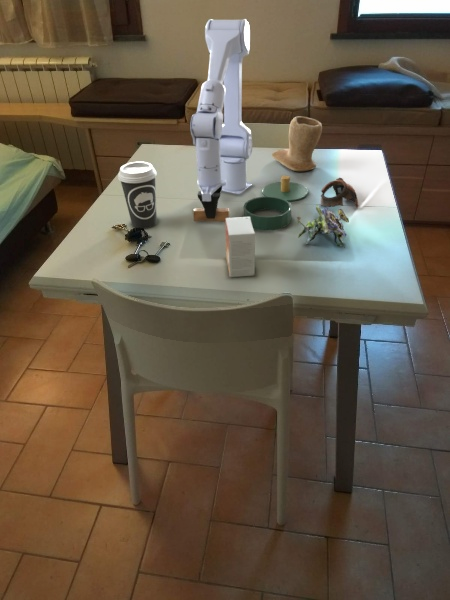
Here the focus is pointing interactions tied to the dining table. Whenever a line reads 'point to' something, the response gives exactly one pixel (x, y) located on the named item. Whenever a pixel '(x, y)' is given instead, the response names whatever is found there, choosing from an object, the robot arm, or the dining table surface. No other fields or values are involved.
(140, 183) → the coffee cup
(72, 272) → the dining table surface
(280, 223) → the tin
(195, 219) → the stick
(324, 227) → the passion flower
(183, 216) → the dining table surface
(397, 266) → the dining table surface
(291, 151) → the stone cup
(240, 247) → the small box
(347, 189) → the brown hollow shell
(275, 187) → the tin lid
